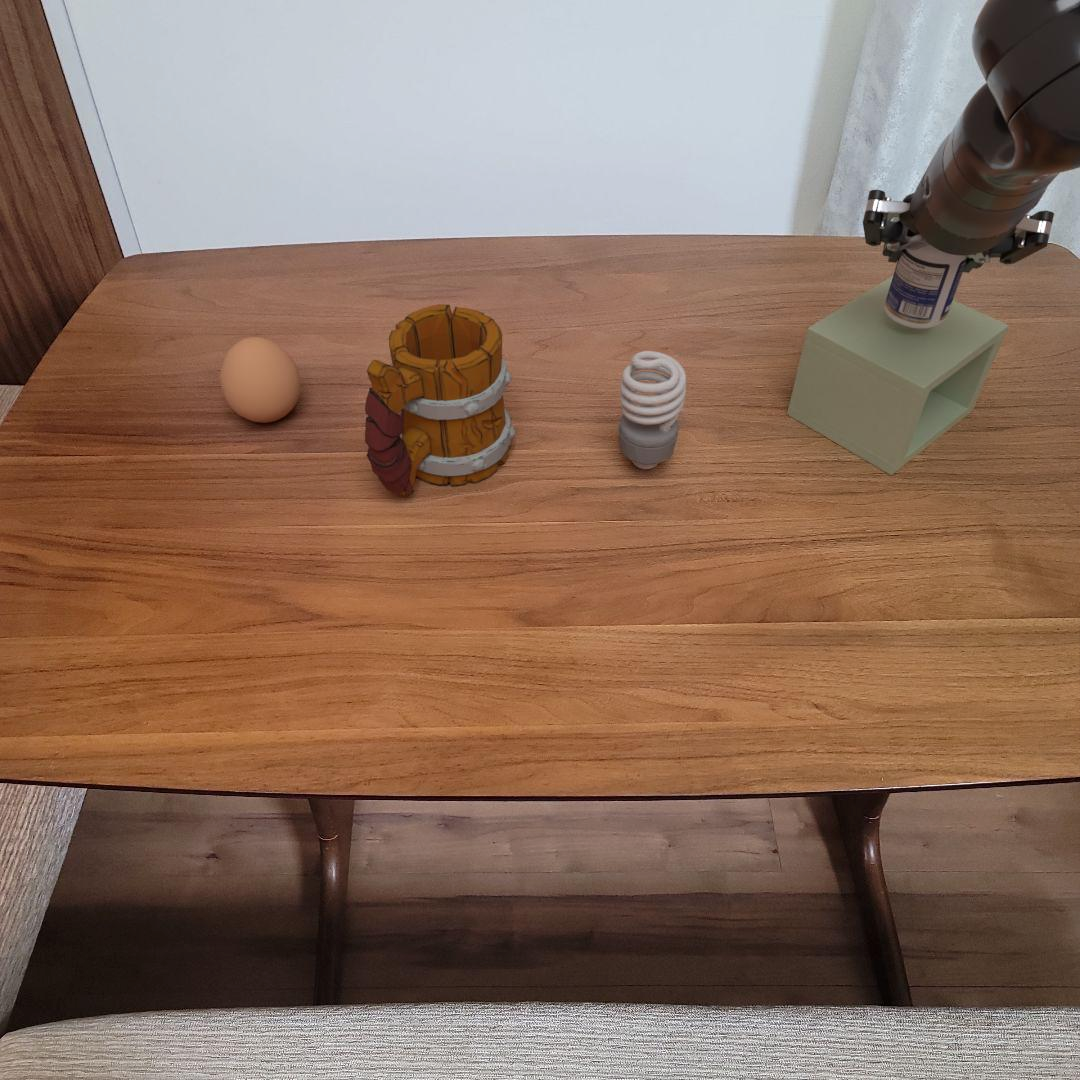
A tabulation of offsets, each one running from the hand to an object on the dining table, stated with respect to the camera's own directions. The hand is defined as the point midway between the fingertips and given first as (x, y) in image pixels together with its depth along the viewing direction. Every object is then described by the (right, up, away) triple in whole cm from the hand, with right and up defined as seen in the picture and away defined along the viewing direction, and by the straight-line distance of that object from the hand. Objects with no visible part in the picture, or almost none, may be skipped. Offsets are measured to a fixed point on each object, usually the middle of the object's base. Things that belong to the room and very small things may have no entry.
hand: (929, 255), depth 81 cm
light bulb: (-24, -18, +5) cm, 31 cm away
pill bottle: (-1, -5, +2) cm, 5 cm away
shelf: (-1, -12, +11) cm, 16 cm away
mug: (-43, -18, +6) cm, 47 cm away
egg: (-61, -13, +11) cm, 63 cm away
